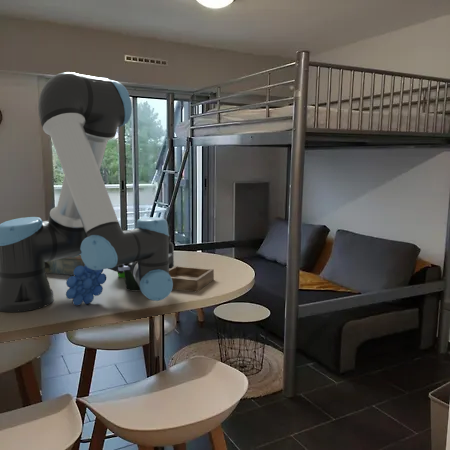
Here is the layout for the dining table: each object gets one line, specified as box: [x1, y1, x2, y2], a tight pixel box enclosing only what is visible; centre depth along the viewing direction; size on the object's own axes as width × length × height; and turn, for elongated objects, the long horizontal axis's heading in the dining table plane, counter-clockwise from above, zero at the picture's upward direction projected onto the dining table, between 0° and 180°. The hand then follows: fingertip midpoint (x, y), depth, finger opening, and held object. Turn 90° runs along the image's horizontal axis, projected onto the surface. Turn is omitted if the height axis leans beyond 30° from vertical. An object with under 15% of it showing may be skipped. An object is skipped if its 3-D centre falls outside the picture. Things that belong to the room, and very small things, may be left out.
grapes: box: [65, 265, 107, 306], centre depth 119 cm, size 12×7×12 cm, turn 132°
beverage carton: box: [45, 255, 85, 276], centre depth 152 cm, size 8×19×7 cm, turn 71°
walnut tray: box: [169, 265, 215, 293], centre depth 139 cm, size 14×14×4 cm
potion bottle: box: [124, 270, 141, 292], centre depth 132 cm, size 8×8×18 cm
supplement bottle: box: [168, 234, 175, 269], centre depth 158 cm, size 7×7×12 cm
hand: (135, 254), depth 135 cm, fingers open, 13 cm apart
